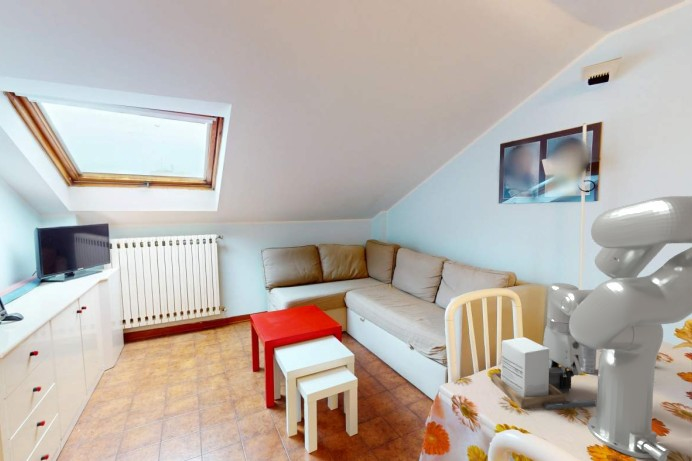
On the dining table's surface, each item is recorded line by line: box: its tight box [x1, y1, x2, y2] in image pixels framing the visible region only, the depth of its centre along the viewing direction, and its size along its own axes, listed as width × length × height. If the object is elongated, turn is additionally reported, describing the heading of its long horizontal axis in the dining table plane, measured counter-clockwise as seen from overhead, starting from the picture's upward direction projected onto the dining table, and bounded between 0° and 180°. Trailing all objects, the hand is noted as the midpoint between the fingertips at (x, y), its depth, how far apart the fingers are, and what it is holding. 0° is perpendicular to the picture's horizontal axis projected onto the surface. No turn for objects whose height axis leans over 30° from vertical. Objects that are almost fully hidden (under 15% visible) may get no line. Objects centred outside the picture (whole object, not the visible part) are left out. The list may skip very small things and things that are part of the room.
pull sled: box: [490, 366, 570, 409], centre depth 90 cm, size 14×20×6 cm
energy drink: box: [581, 346, 597, 374], centre depth 102 cm, size 5×5×12 cm
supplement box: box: [500, 336, 549, 397], centre depth 89 cm, size 9×9×15 cm
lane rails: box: [542, 398, 597, 411], centre depth 90 cm, size 17×15×2 cm
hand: (559, 384), depth 91 cm, fingers closed on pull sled, 3 cm apart
